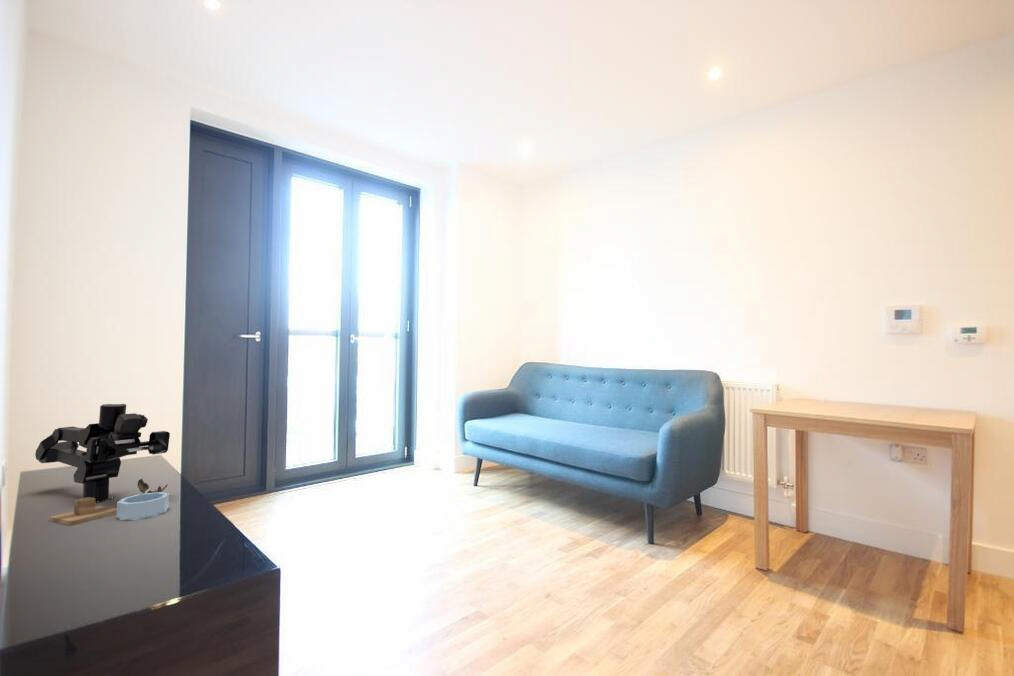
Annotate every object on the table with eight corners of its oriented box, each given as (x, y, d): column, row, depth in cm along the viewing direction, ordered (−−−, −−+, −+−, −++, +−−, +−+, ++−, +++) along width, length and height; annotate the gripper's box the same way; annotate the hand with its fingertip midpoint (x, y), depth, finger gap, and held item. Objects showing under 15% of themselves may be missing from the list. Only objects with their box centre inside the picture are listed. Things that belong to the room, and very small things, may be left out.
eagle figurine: (171, 493, 136) (141, 488, 136) (165, 477, 132) (134, 471, 132) (151, 515, 129) (120, 509, 129) (145, 498, 126) (113, 492, 126)
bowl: (109, 519, 117) (110, 501, 117) (152, 507, 126) (152, 490, 127) (133, 523, 113) (133, 505, 114) (175, 511, 123) (176, 494, 123)
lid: (48, 520, 115) (49, 502, 116) (96, 508, 125) (97, 492, 125) (70, 525, 112) (71, 507, 112) (118, 513, 121) (119, 495, 121)
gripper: (78, 415, 122) (110, 423, 116) (156, 411, 139) (187, 418, 133) (73, 457, 122) (104, 468, 115) (151, 448, 139) (182, 456, 132)
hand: (147, 450), depth 124 cm, fingers open, 9 cm apart
